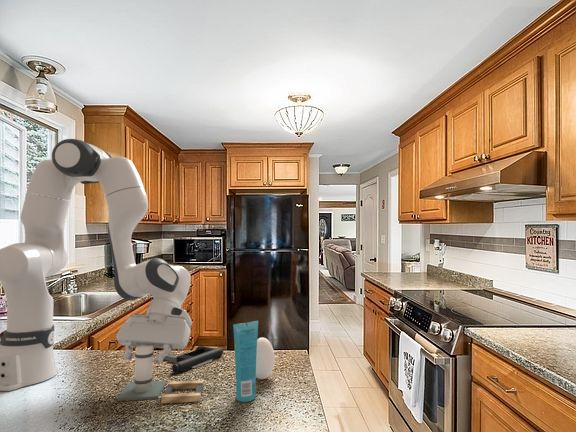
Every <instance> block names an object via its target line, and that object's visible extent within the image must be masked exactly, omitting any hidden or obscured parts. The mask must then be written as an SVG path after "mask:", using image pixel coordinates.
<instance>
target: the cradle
mask: <svg viewBox="0 0 576 432" xmlns="http://www.w3.org/2000/svg"><path fill="white" fill-rule="evenodd" d="M204 381H205V380H203V379H201V380H183V381H182V380H181V381H180V380H178V381H168V383H167V386H166V388H165V391H164V393H163V394H162V395H161V400H160V402H161V403H160V404H177V403H191V402H192V403H194V402H195V403H196V402H198V403H199V402H201V398H202V395H203V389H204V385H205V383H204ZM192 389H195V392H190V393H189V392H188V393H187V392H186V393H173V391H174V390H192Z"/></svg>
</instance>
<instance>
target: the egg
mask: <svg viewBox="0 0 576 432" xmlns="http://www.w3.org/2000/svg"><path fill="white" fill-rule="evenodd" d="M275 356H276V355H275V351H274V348H273V345H272V343H271V341H270V340H269V339H267V338H266V337H259V338H257V356H256V379H259V380H265V379H267V378H268V377H269V376H270V375H271V374H272V372H273V371H274V367H275V363H276V362H275V361H276V359H275V358H276V357H275Z"/></svg>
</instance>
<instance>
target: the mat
mask: <svg viewBox="0 0 576 432" xmlns="http://www.w3.org/2000/svg"><path fill="white" fill-rule="evenodd" d="M166 383H167V380H152V389H151V390H149V391H147V392H135V391H134V384H135V383H134V381H128V383H127V384H126V385H125V387H124V388H123V390H122V391H121V392H120V393H119V395H118V396H117V397H116V401H119V402H120V401H136V400H137V401H139V400H156V399H157V400H158V399H159V398H160V396H161V393H162V391H163V390H164V388H165V385H166Z"/></svg>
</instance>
